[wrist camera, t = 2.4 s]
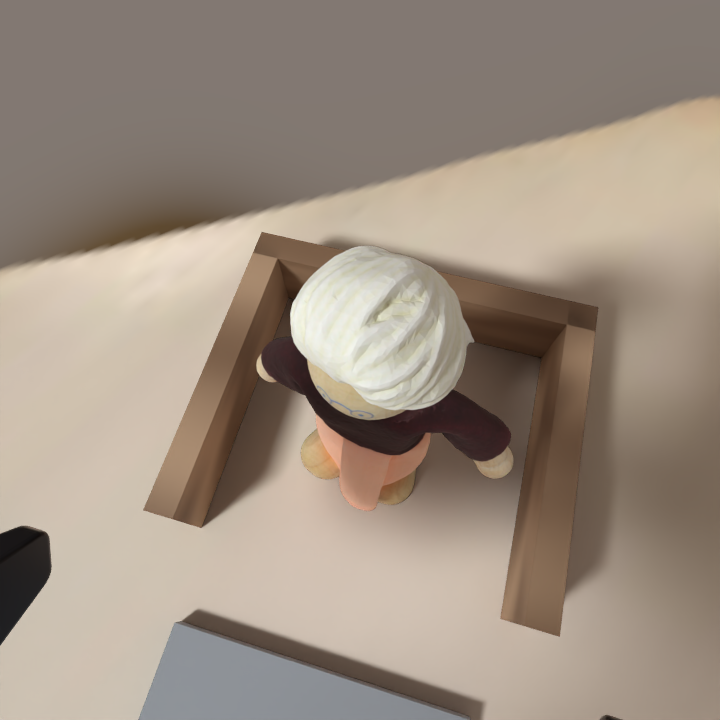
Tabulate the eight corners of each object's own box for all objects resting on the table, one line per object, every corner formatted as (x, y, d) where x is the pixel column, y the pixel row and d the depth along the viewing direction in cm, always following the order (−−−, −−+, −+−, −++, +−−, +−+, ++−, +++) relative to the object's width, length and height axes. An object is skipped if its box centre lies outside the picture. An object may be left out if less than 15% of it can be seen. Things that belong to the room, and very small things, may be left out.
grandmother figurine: (263, 489, 19) (102, 354, 8) (292, 395, 21) (192, 162, 9) (467, 538, 19) (627, 469, 7) (482, 436, 20) (636, 238, 8)
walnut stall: (529, 627, 17) (559, 636, 15) (176, 520, 19) (143, 510, 16) (569, 342, 22) (598, 307, 19) (274, 273, 23) (261, 232, 20)
